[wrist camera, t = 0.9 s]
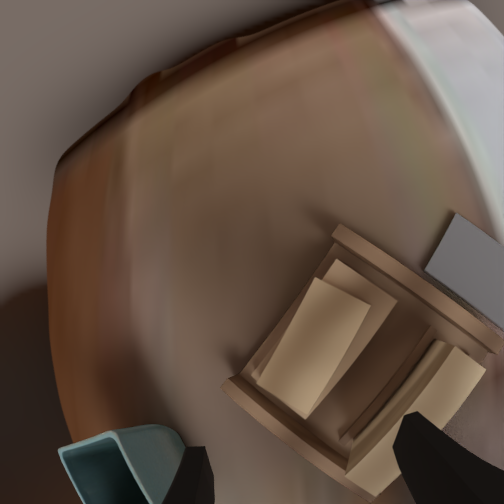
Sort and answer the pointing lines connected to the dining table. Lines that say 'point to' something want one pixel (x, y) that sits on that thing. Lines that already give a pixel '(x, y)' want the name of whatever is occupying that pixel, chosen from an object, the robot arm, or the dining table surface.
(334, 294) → the offcut board upper
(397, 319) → the rack
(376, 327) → the offcut board lower
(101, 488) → the flower pot
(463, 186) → the dining table surface
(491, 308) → the slate coaster
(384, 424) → the tall block
